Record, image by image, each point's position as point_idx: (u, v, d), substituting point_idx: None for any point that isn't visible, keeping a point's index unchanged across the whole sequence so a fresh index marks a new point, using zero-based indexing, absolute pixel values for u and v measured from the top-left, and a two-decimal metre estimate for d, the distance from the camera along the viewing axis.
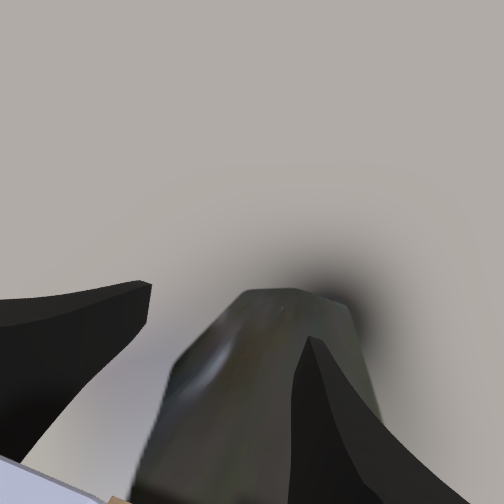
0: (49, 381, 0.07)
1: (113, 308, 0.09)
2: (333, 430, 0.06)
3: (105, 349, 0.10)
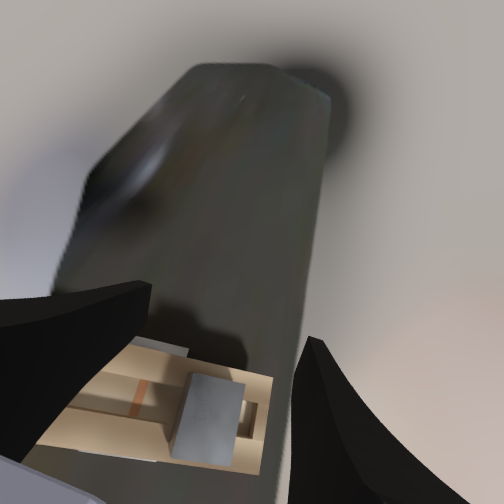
0: (49, 381, 0.07)
1: (113, 308, 0.09)
2: (333, 431, 0.06)
3: (105, 349, 0.10)
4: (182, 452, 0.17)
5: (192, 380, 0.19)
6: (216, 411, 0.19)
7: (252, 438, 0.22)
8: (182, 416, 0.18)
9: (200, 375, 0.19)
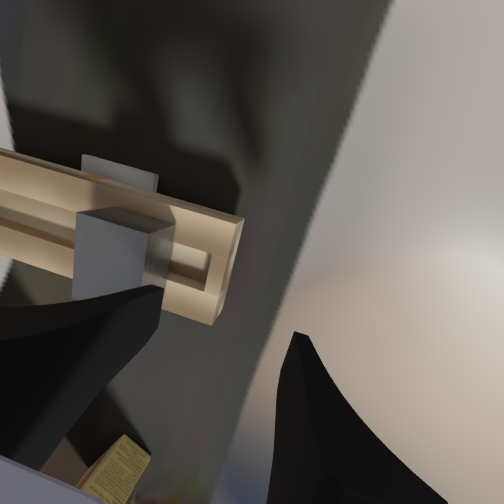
0: (68, 388, 0.07)
1: (128, 313, 0.09)
2: (307, 421, 0.06)
3: (120, 354, 0.10)
4: (82, 295, 0.15)
5: (77, 221, 0.14)
6: (112, 262, 0.14)
7: None
8: (75, 261, 0.14)
9: (85, 216, 0.13)
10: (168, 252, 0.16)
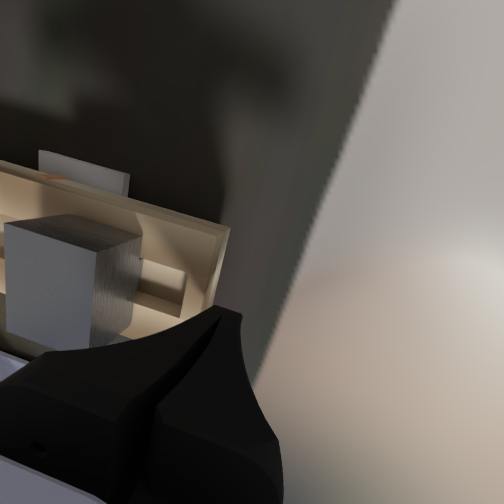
0: None
1: (205, 340, 0.09)
2: (187, 378, 0.06)
3: None
4: (19, 328, 0.12)
5: (5, 235, 0.10)
6: (53, 288, 0.11)
7: None
8: (7, 285, 0.11)
9: (15, 228, 0.10)
10: (133, 271, 0.13)
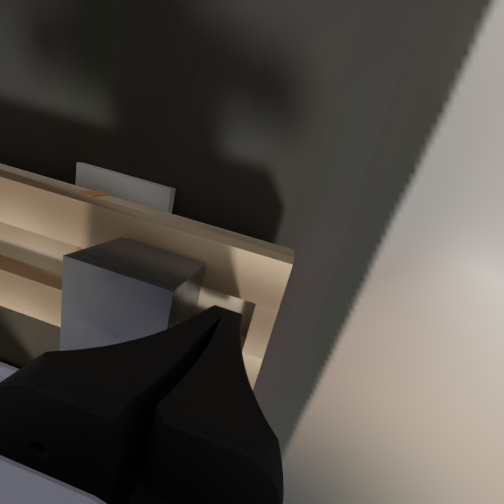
0: None
1: (206, 340, 0.09)
2: (187, 377, 0.06)
3: None
4: None
5: (64, 269, 0.09)
6: (118, 329, 0.09)
7: (243, 350, 0.12)
8: (63, 323, 0.10)
9: (77, 262, 0.09)
10: (195, 302, 0.11)
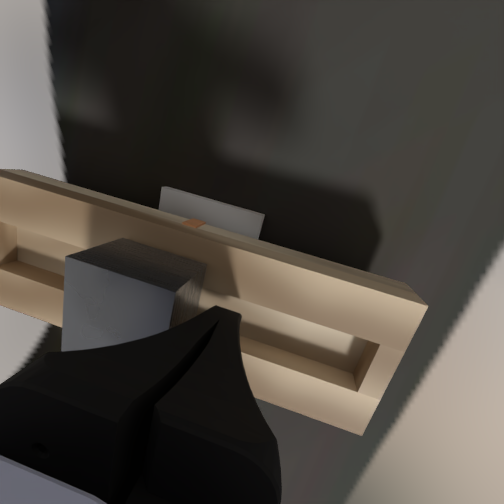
0: None
1: (207, 340, 0.09)
2: (185, 377, 0.06)
3: None
4: None
5: (66, 270, 0.09)
6: (119, 329, 0.09)
7: (358, 389, 0.12)
8: (64, 324, 0.10)
9: (79, 263, 0.09)
10: (196, 302, 0.12)
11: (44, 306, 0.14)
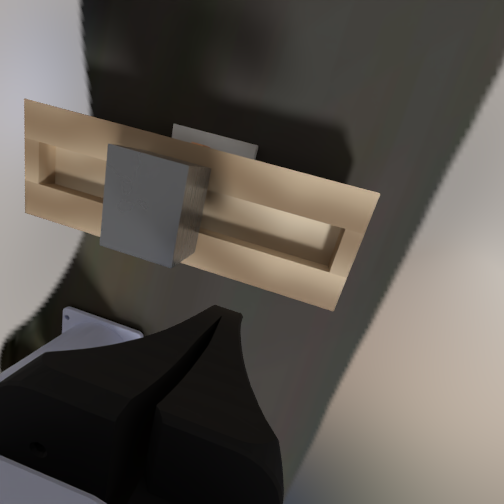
0: None
1: (205, 340, 0.09)
2: (187, 377, 0.06)
3: None
4: (111, 242, 0.14)
5: (108, 155, 0.12)
6: (147, 201, 0.13)
7: (330, 271, 0.15)
8: (104, 202, 0.13)
9: (118, 148, 0.12)
10: (202, 199, 0.15)
11: (79, 216, 0.17)
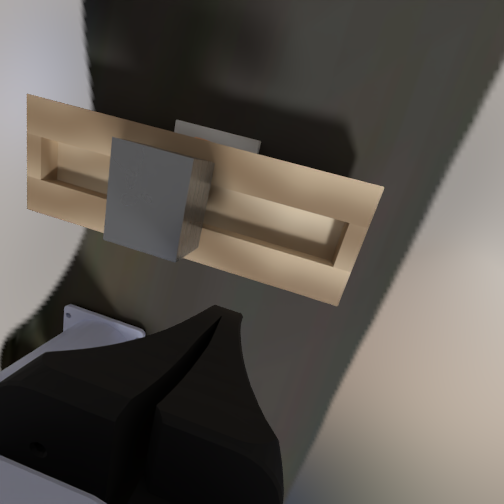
0: None
1: (205, 340, 0.09)
2: (187, 378, 0.06)
3: None
4: (115, 236, 0.13)
5: (112, 148, 0.12)
6: (151, 194, 0.13)
7: (334, 265, 0.15)
8: (108, 195, 0.13)
9: (122, 141, 0.12)
10: (206, 194, 0.15)
11: (81, 212, 0.17)
